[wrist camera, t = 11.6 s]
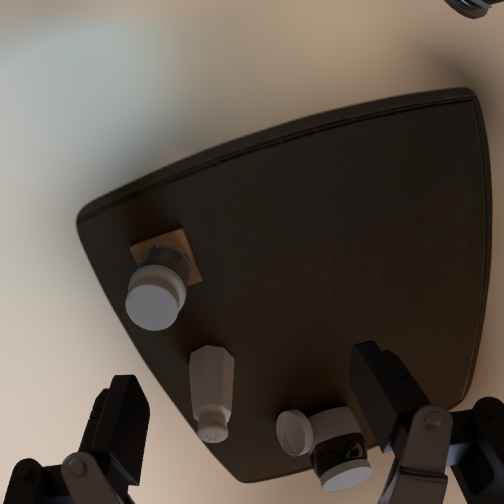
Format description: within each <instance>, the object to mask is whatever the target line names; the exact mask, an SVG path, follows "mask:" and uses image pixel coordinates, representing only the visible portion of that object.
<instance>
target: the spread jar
mask: <svg viewBox="0 0 504 504" xmlns="http://www.w3.org/2000/svg"><path fill="white" fill-rule="evenodd" d="M276 432H277V437H278V440H279V443H280V445H281V446H282V448H283V449H284V451H285V452H286V453H288V454H289V455H291V456H299V455H302V454H305V453H307V452H308V454H309V457H310V461H311V464H312V467H313V470H314V472H315V474H316V475H317V477H318V478H319V479H320V481H321V485H322V488H323V490H325V491H329V492H334V491H340V490H344V489H347V488H350V487H353V486H355V485H357V484H359V483H360V482H362V481H364V480H365V479H366V478H367V477H368V476H369V475H370V474H371V472H372V468H371V466H370V464H369V462H368V461H367V448H366V444H365V440H364V437H363V435H362V432H361V430H360V428H359V426H358V424H357V422H356V420H355V418H354V416H353V414H352V412H351V410H350V409H349V408H348V407H347V406H344V405H332V406H326V407H322V408H320V409H317V410H315V411H314V412H312V413H310V414H309V415H308V416H305V415H304V414H303V413H302V412H300V411H299V410H294V409H293V410H289V411H285V412H282V413H281V414H280V415H279V416H278V419H277V422H276Z"/></svg>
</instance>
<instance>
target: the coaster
mask: <svg viewBox="0 0 504 504" xmlns="http://www.w3.org/2000/svg"><path fill="white" fill-rule="evenodd" d="M160 242H171V243H174V244H177V245H179V246H180V247H182V248H183V249H184V250H185V252H186V253H187V254H188V256H189V259H190V263H191V269H190V275H189V281H188V285H191V284H194V283H197V282H200V281H203V278H202V275H201V273H200V270H199V268H198V265H197V263H196V260H195V258H194V255H193V252H192V250H191V247H190V245H189V242H188V240H187V237H186V234H185V232H184V229H183V227H181V228H179V229H176V230H173V231H170V232H167V233H164V234H161V235H159V236H156V237H153V238H150V239H148V240H145V241H142V242H139V243H137V244H134V245H131V246H130V250H131V253H132V255H133V257H134V259H135V262H136V264H137V266H138V265H139V263H140V261H141V260H142V258H143V256H144V254H145V253H146V251H147V250H148V249H149V248H150V247H151V246H153V245H155V244H157V243H160Z"/></svg>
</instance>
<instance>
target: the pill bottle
mask: <svg viewBox="0 0 504 504" xmlns="http://www.w3.org/2000/svg"><path fill="white" fill-rule="evenodd" d="M190 269H191V263H190V259H189V256H188V254H187V253H186V252H185V250H184V249H183V248H182V247H180V246H179V245H177V244H174V243H171V242H160V243H157V244H155V245H153V246H151V247H150V248H149V249H148V250H147V251H146V253H145V254H144V256H143V258H142V260H141V261H140V263H139V265H138V267H137V268H136V270H135V272H134V273H133V275H132V277H131V279H130V282H129V286H128V295H127V297H126V303H125V305H126V310H127V313H128V315H129V317H130V318H131V320H132V321H133V322H134V323H135V324H137V325H138V326H140V327H142V328H144V329H147V330H162V329H165V328H167V327H169V326H170V325H172V324H173V322H174V321H175V320H176V318H177V315H178V312H179V311H180V309H181V308H182V306H183V305H184V302H185V298H186V292H187V286H188V281H189V275H190Z"/></svg>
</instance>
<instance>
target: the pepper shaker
mask: <svg viewBox="0 0 504 504" xmlns="http://www.w3.org/2000/svg"><path fill="white" fill-rule="evenodd" d="M233 372H234V358H233V357H232V356H231V355H230V354H229V353H228V352H227V350H226V349H225V348H224V347H217V346H210V345H205V346H203V347H201V348H199V349H197V350H196V351H194V352H192V353H191V356H190V363H189V374H190V386H191V398H192V408H193V416H194V418H195V419H196V420H197V421H198V431H197V435H198V437H199V438H200V439H201V440H203V441H205V442H210V443H217V442H221V441H223V440H225V439H226V438H227V437H228V430H227V423H226V422H228V421H229V418H230V414H231V408H232V390H233Z"/></svg>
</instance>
